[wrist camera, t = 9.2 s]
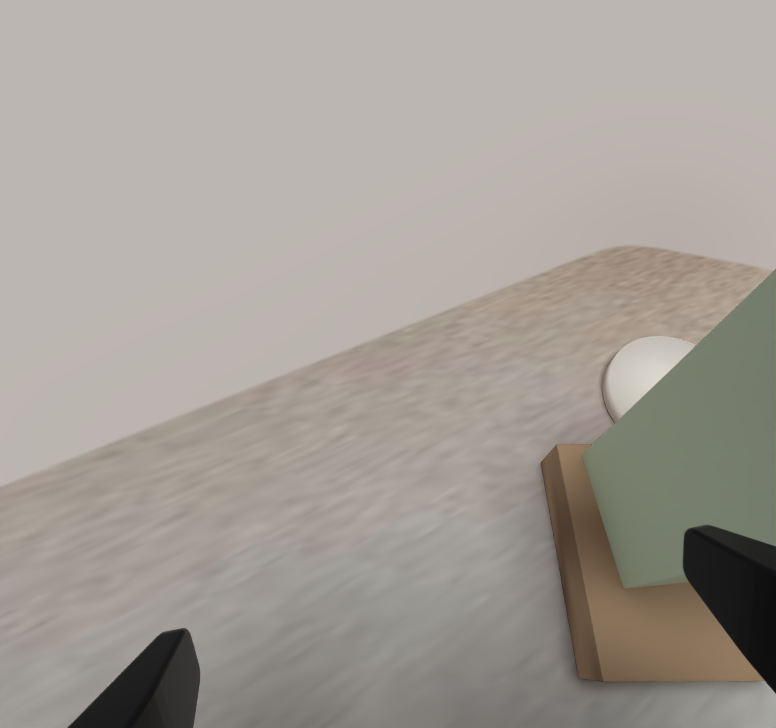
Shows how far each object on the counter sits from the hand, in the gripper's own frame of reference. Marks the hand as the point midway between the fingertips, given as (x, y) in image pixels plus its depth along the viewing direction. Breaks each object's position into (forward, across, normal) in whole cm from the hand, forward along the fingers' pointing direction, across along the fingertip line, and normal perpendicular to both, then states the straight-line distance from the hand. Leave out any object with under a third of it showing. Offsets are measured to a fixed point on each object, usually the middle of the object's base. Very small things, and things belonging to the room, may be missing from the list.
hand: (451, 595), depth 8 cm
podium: (+10, -11, +9) cm, 17 cm away
